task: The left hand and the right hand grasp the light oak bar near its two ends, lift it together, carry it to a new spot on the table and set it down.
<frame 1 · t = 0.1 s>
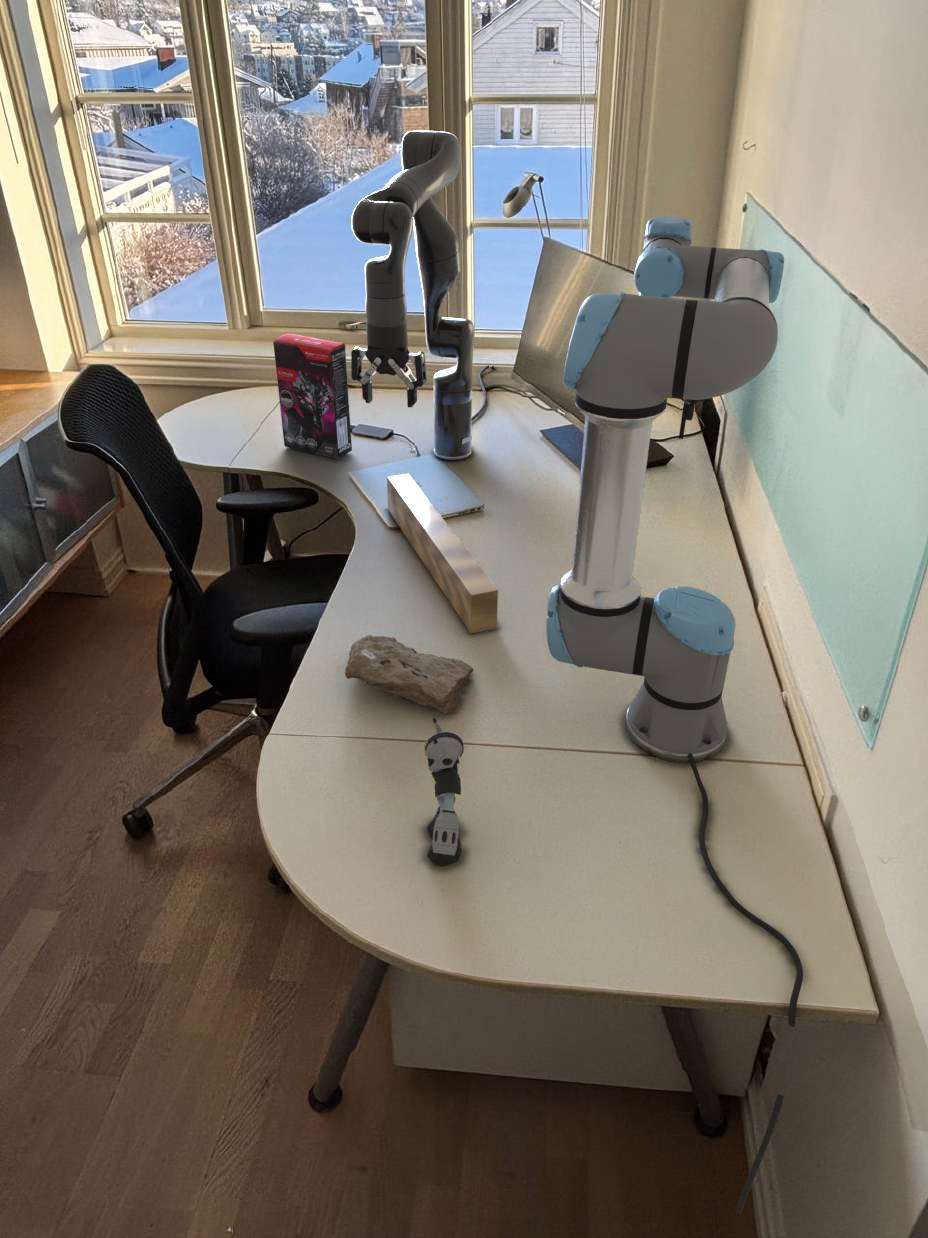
left hand: (389, 403, 178), 29 cm above the table, tool pointing down, fingers open, 8 cm apart
right hand: (643, 432, 170), 28 cm above the table, tool pointing down, fingers open, 13 cm apart
bar: (436, 563, 185), on the table
graphics card box: (318, 450, 231), on the table
robot: (444, 843, 124), on the table
stone: (404, 685, 152), on the table
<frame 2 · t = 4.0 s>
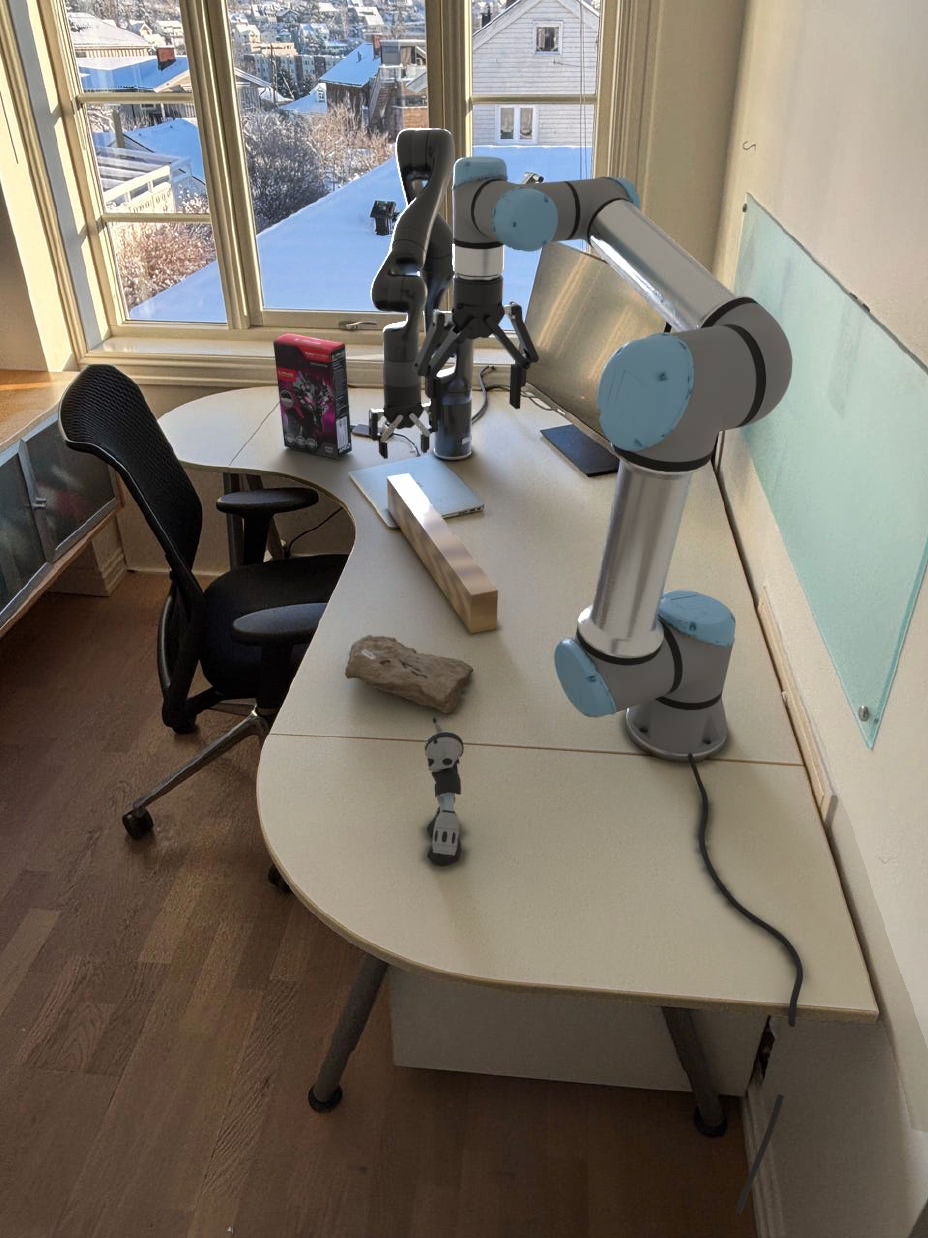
left hand: (404, 454, 192), 15 cm above the table, tool pointing down, fingers open, 8 cm apart
right hand: (475, 411, 148), 39 cm above the table, tool pointing down, fingers open, 13 cm apart
nothing on the table moved.
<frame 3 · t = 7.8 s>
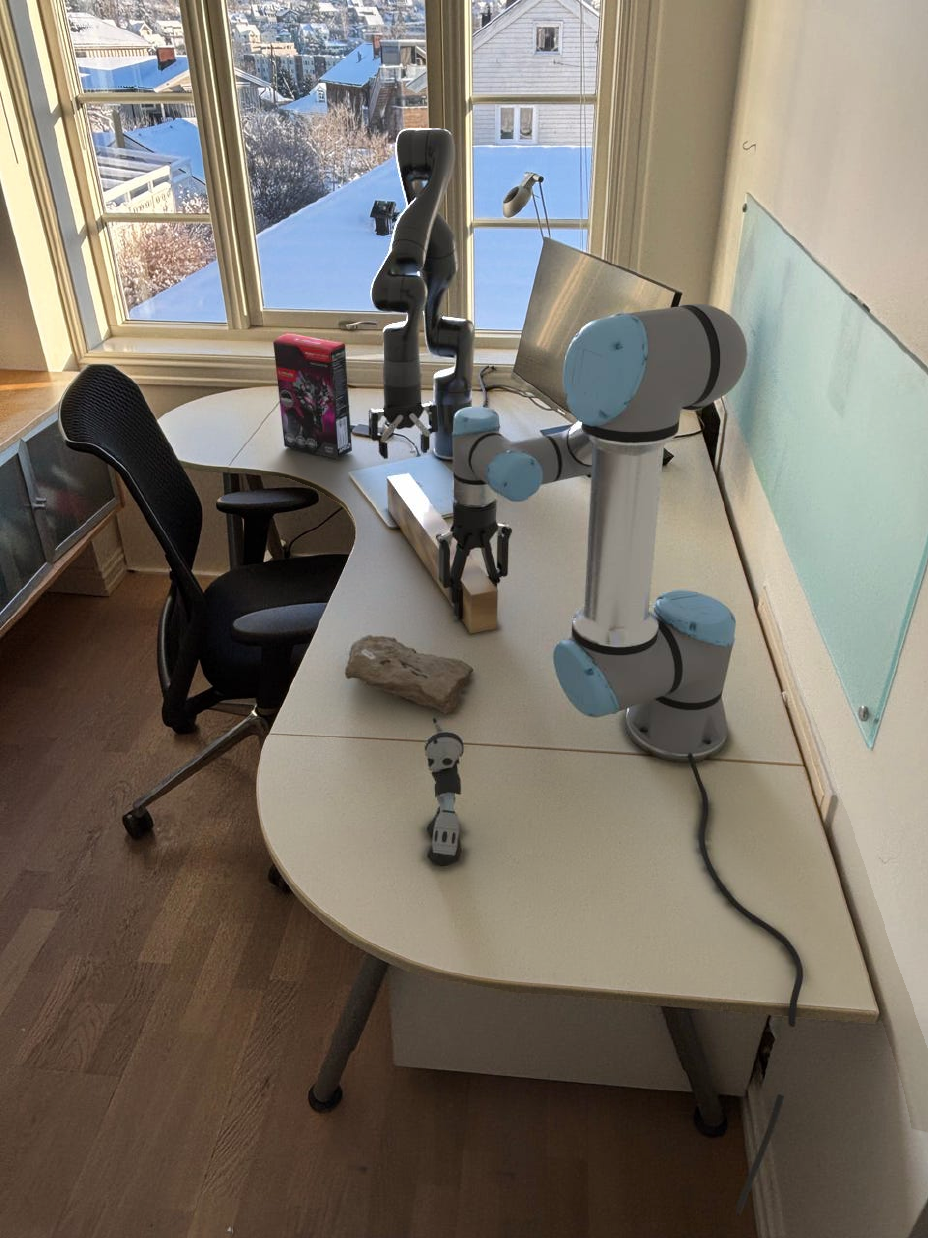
left hand: (404, 454, 192), 15 cm above the table, tool pointing down, fingers open, 8 cm apart
right hand: (472, 612, 169), 1 cm above the table, tool pointing down, fingers closed on bar, 5 cm apart
bar: (436, 563, 185), on the table, touching right hand
everything else where it was.
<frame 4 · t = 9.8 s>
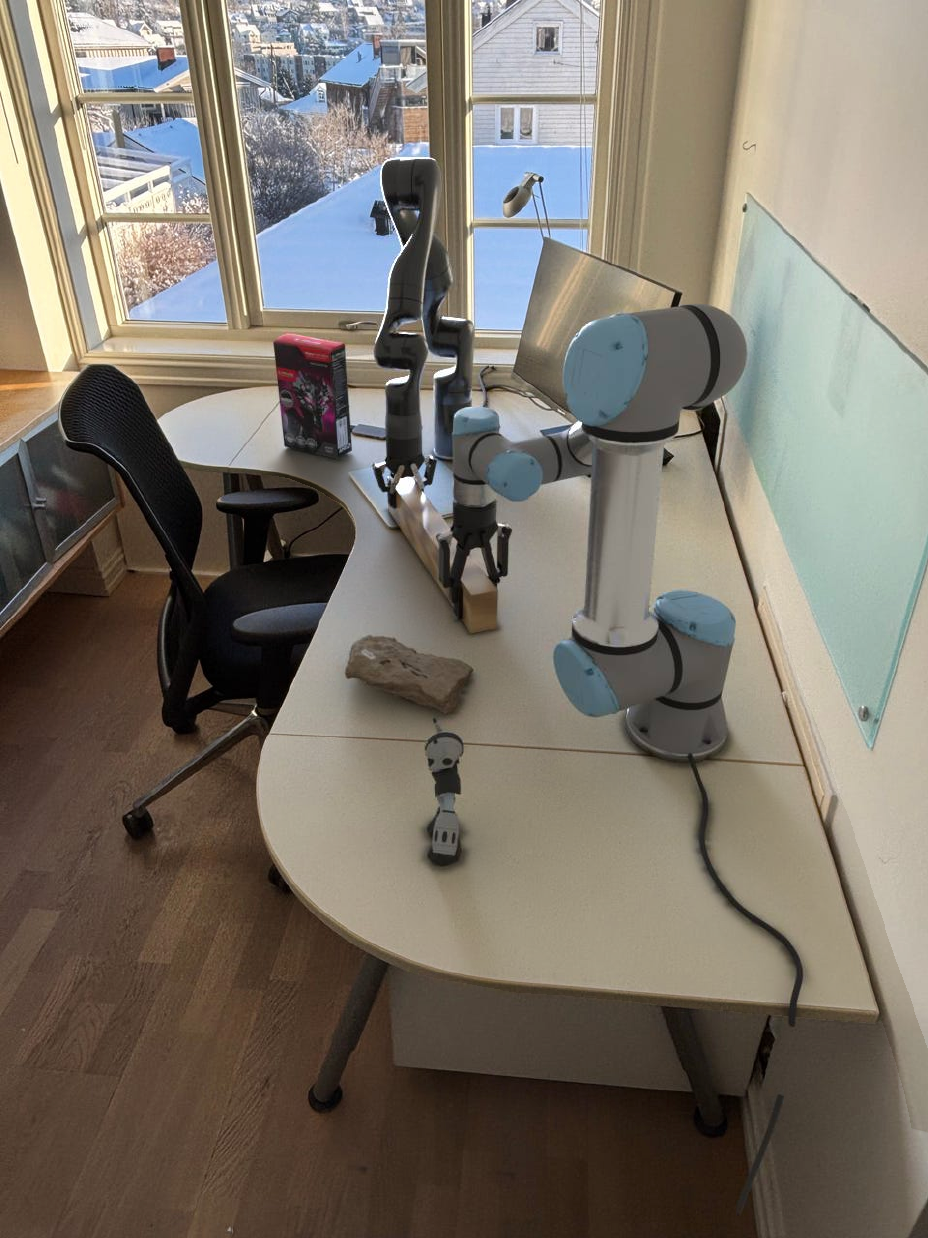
left hand: (405, 504, 199), 4 cm above the table, tool pointing down, fingers closed on bar, 5 cm apart
right hand: (472, 612, 169), 1 cm above the table, tool pointing down, fingers closed on bar, 5 cm apart
bar: (436, 563, 185), on the table, touching right hand, left hand
everything else where it was.
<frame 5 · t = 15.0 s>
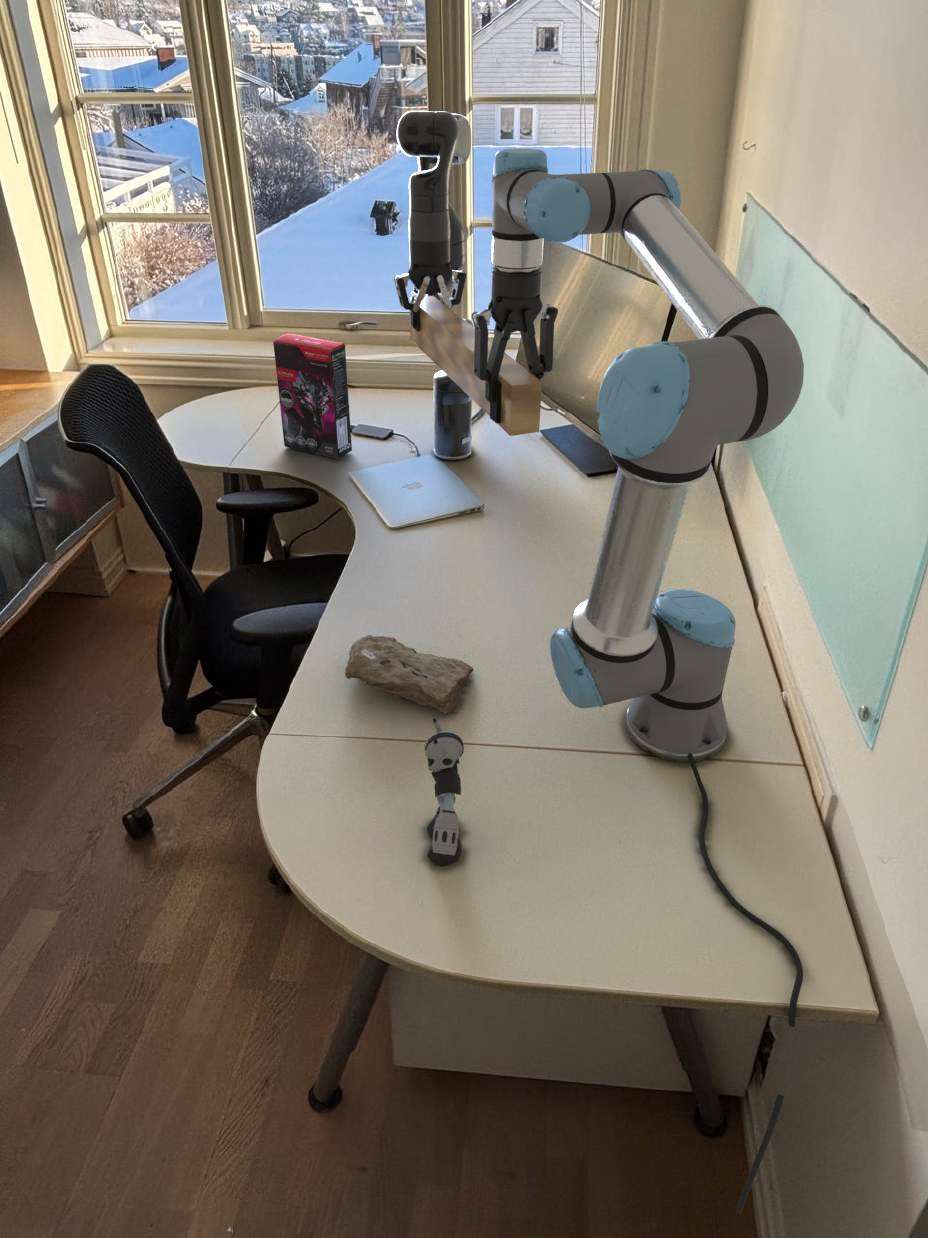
left hand: (430, 328, 178), 41 cm above the table, tool pointing down, fingers closed on bar, 5 cm apart
right hand: (511, 417, 148), 38 cm above the table, tool pointing down, fingers closed on bar, 5 cm apart
bar: (467, 380, 164), point 38 cm above the table, touching right hand, left hand
everything else where it was.
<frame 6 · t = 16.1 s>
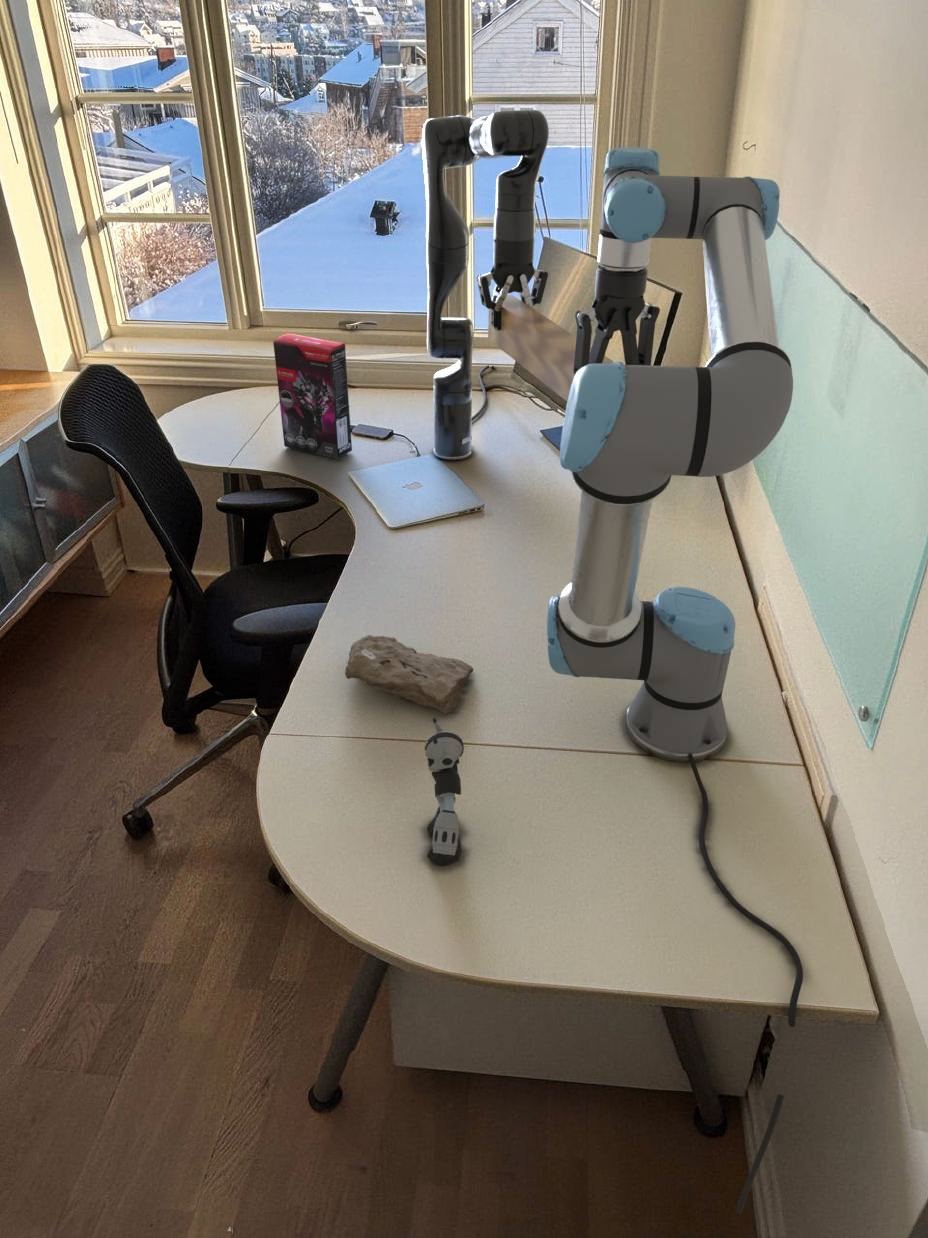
left hand: (510, 327, 178), 42 cm above the table, tool pointing down, fingers closed on bar, 5 cm apart
right hand: (607, 416, 148), 39 cm above the table, tool pointing down, fingers closed on bar, 5 cm apart
bar: (553, 379, 164), point 38 cm above the table, touching right hand, left hand
everything else where it was.
when the right hand's fingers open (2 cm above the table, at t = 22.6 s): bar drops 1 cm, on the table.
when the left hand's fingers open (5 cm above the table, at t = 22.8 s): bar stays where it is, on the table.
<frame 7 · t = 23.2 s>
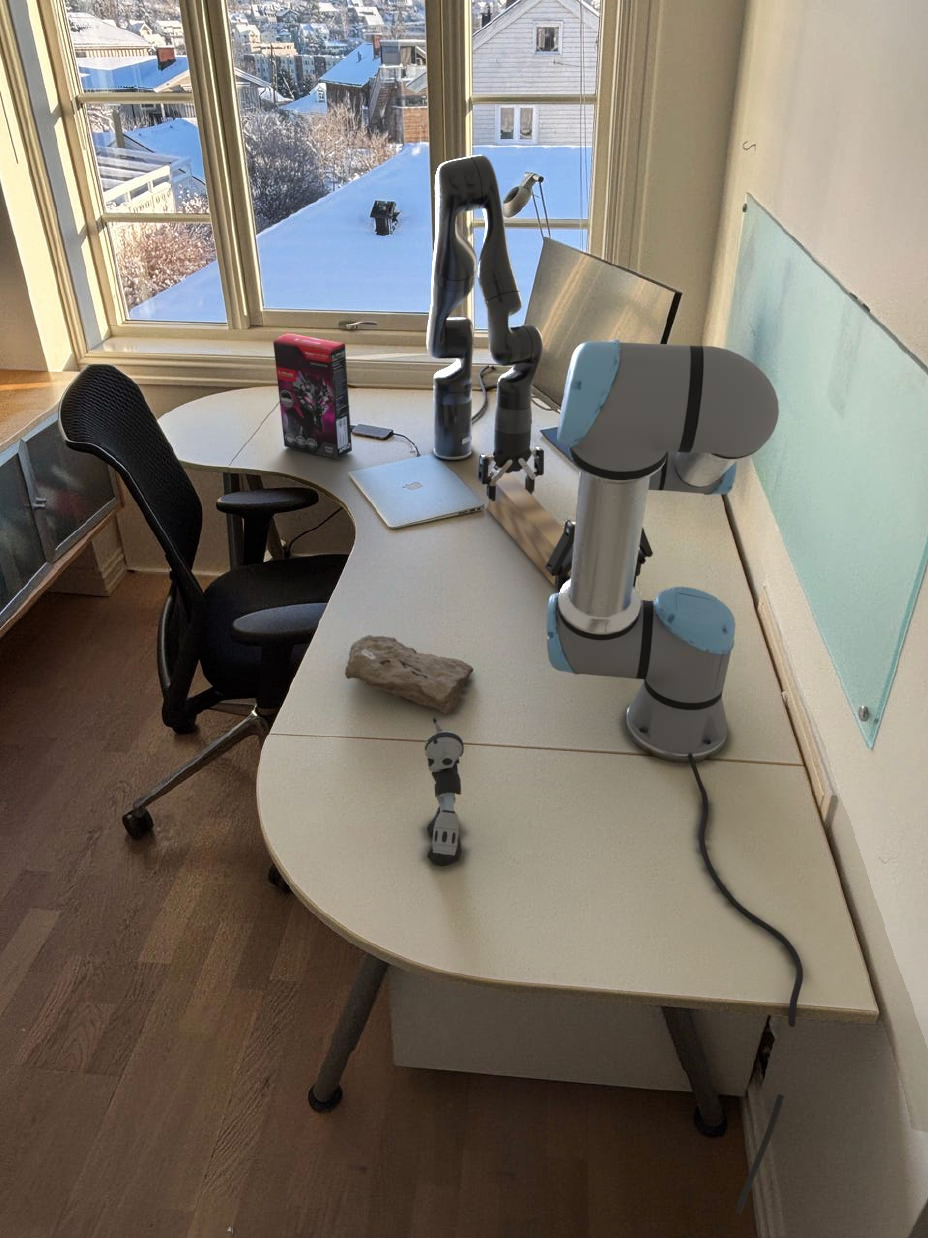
left hand: (510, 496, 198), 6 cm above the table, tool pointing down, fingers open, 8 cm apart
right hand: (595, 597, 168), 4 cm above the table, tool pointing down, fingers open, 13 cm apart
bar: (546, 562, 186), on the table
everything else where it was.
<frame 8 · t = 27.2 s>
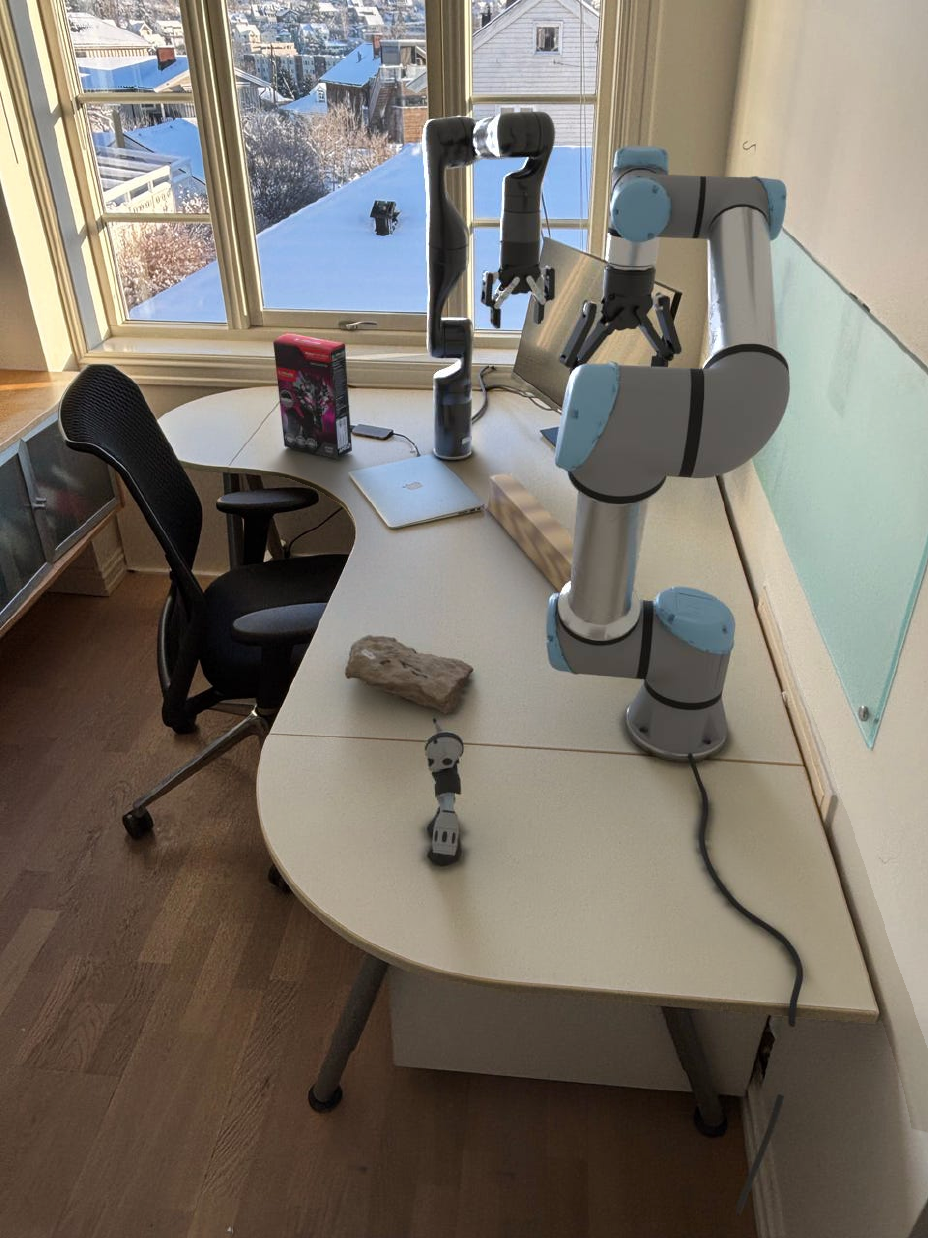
left hand: (516, 325, 177), 42 cm above the table, tool pointing down, fingers open, 8 cm apart
right hand: (616, 403, 147), 41 cm above the table, tool pointing down, fingers open, 13 cm apart
nothing on the table moved.
at the end: bar inside the target area (0.5 cm from its centre), on the table; bar tilted 0°; bar never tilted more than 2° during the clip; both hands held the bar at the same time; the left hand is holding nothing; the right hand is holding nothing; bar at rest at the end (0.0 cm/s) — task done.
